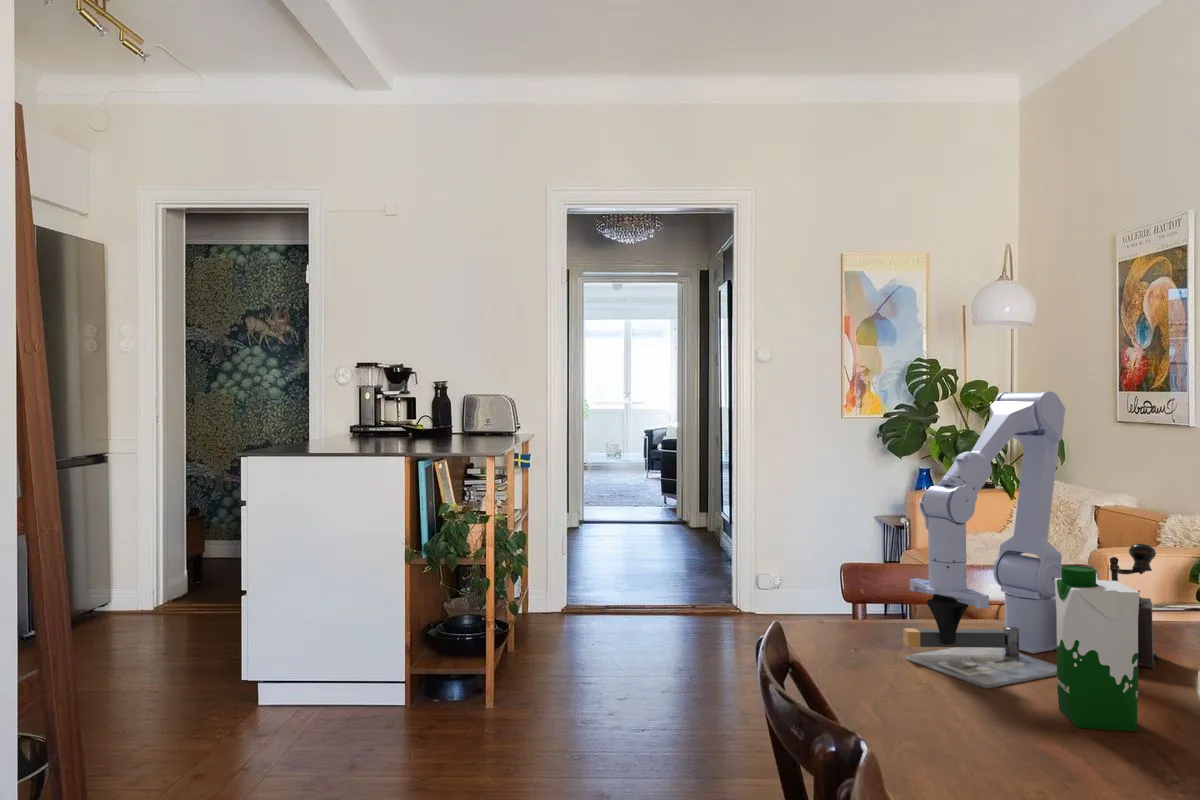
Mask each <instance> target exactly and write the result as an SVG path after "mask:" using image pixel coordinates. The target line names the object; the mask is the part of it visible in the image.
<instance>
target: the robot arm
mask: <svg viewBox="0 0 1200 800" xmlns="http://www.w3.org/2000/svg"><path fill="white" fill-rule="evenodd" d="M989 411H990V419H989V421H988V423H987V424H986V425H985V427H984V429H983V431H982V432H981V433H980V435H979V438H978V439H977V441H976V442H975V445H974V446H973V447H972V450H971V451H964V452H961V453H958V454H957V456H956V457H955V460H954V462H953V463H952V465H951V466H950V467H949V469H948V470H947V472H945V474H944V476H943V477H942V478H941V479H940V481H939V483H938V484H936V485H935V484H934V485H933V486H930V487H929V488H928V489H926V490H925V491H924V493H923V494H922V497H921V501H920V502H919V509H920V512H921V515H922V516H923V518H924V522H925V523H924V526H925V527H926V530H927V531H928V532H927V533H928V534H927V535H928V538H927V539H928V540H927V541H928V547H927V548H928V579H925V578H924V579H923V578H917V577H916V578H910V579H909V591H910V592H915V593H916V592H919V593H922V594H925V595H926V594H927V595H931V596H932V598H930V599H927V601H926V605H927V606H928V608H929V609H930V612H931V613H932V615H933V617H934V620H935V622H936V625H937V629H939V632H940V641H941V644H944V645H948V644H954V643H955V639H956V630H957V629H958V626H959V624H960V622H961V620H962V617H963V616H964V615H965V614H964V613H965V612H966V610H967V609H968V608H969V606H972V607H974V609H975V608H976V609H979V610H981V609H988V608H990V596H989V594H984V593H982V592H980V591H977V590H974V589H972V588H969V587H967V522H968V521H969V520H970V519H971V518H972V517H973V516H974V514H975V510H976V502H977V500H978V494H979V492H980V491H981V489H982V488H983V486H984V485H986V482H987V481H988V479H989V478H990V477H991V475H993V474H992V473H993V467H992V465H991V462H993V460H994V459H995V457H997V456H998V454H999V453H1000V452H1001V451H1002V450H1003V448H1004V447H1005V446H1006V445H1007V444H1008V443H1009V441H1010V440H1011V439H1012V438H1013V439H1014V440H1016V441H1018V442H1019V443H1020V444H1021V446H1022V447H1023V455H1022V462H1021V473H1020V478H1019V479H1020V480H1019V489H1018V496H1017V497H1018V498H1017V506H1016V513H1015V520H1014V521H1015V522H1014V530H1013V535H1012V536H1011V537H1010V538H1008V539H1007V540H1005V541H1003V542H1002V543H1001V544H999V545H1000V546H999V551H998V554H997V557H996V559H995V562H994V564H993V569H992V571H993V578H994V581H995V582H996V583H997V585H998V586H1000V591H1001V592H1002V593H1004V627H1005V626H1011V627H1016V628H1019V651H1023V652H1026V653H1030V654H1038V653H1043V652H1049V651H1050V652H1051V651H1054V650H1056V651H1057V610H1056V593H1055V578H1061V577H1062V567H1063V566H1062V558H1063V555H1062V553H1060V551H1059V550H1058V549H1056V547H1055V546H1053V544H1052V543H1050V542H1049V541H1048V540H1049V531H1050V525H1051V523H1050V522H1051V513H1052V505H1053V497H1054V487H1055V479H1056V471H1057V461H1058V454H1059V447H1060V446H1059V445H1060V441H1062V440H1063V439H1062V438H1063V431H1064V422H1065V416H1066V415H1065V414H1066V412H1065V411H1066V407H1065V406H1064V404H1063V402H1062V400H1061V398H1060V397H1059V395H1058V394H1057V393H1055V392H1054V391H1050V390H1047V391H1044V392H1043V391H1042V392H1035V391H1034V392H1010V391H1003V392H1002V391H1001V393H998V394H997V396H996V398H995V399H994V402H993V403H991V404H990V406H989ZM1022 554H1031V555H1035V556H1037V557H1034V556H1028V555H1022Z"/></svg>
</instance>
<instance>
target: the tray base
mask: <svg viewBox="0 0 1200 800" xmlns="http://www.w3.org/2000/svg"><path fill="white" fill-rule="evenodd" d="M1002 632H1004V633H1005V648H983V647H948V648H944V649H943V648H942V649H938V650H937V649H936V650H932V651H931V650H930V651H924V652H918V653H912V654H907V655H905V660H907V661H910V662H913V663H915V664H918V665H921V666H924V667H925V668H926V667H927V668H929V669H931V670H934V671H936V672H939V673H943V674H945V675H948V676H951V677H954V678H956V679H959V680H962V681H965V682H966V683H970V684H972V685H975V686H978V687H980V688H984V689H991V688H992V689H993V688H997V687H1003V686H1007V685H1012V684H1017V683H1023V682H1029V681H1032V680H1039V679H1045V678H1050V677H1055V676H1057V664H1055V663H1051V662H1049V661H1046V660H1042V659H1038V658H1035V657H1033V656H1029V655H1025V654H1022V653H1020V650H1019V628H1016V627H1011V626H1005V625H1004V626H1003V627H1002Z"/></svg>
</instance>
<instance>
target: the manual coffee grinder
mask: <svg viewBox="0 0 1200 800" xmlns="http://www.w3.org/2000/svg"><path fill="white" fill-rule="evenodd" d="M1128 554H1129V556H1130V557H1131V558H1132V559H1133V561H1134V563H1133V566H1132V567H1131V569H1130V568H1129V569H1123V568H1120V566H1119V559H1118V557H1116V556H1112V557H1110V558H1109V560H1108V561H1109V563H1110V564H1109V571H1110V572H1111V581H1118V582H1119V575H1132V574H1140V575H1143V573H1146V572H1152V568H1151V562H1152V560H1153V559H1155V557H1156V554H1157V551H1156V550H1155V548H1154V547H1152V546H1151V545H1149V544H1145V543H1135V544H1133V545H1131V546H1130V548H1129V549H1128ZM1137 592H1139V593H1141V590H1140V589H1139V590H1138V591H1137ZM1151 599H1152V598H1150V597H1149V598H1148V597H1141V596H1140V595H1139V611H1138V669H1148V670H1153V669H1154V668H1155V664H1156V662H1157V661H1158V660H1159V654H1158V653H1157V652H1154V630H1153V629H1154V627H1153V602H1152V600H1151Z"/></svg>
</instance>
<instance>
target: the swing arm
mask: <svg viewBox="0 0 1200 800" xmlns="http://www.w3.org/2000/svg"><path fill="white" fill-rule="evenodd" d="M902 631H903V633H902V634H903V635H902V637H903V640H902V641H903V642H902V643H903V644H904V646H906V647H907V648H955V647H983V648H1005V633H1004V632H1003V630H1000V629H996V628H993V629H987V628H986V629H985V628H983V629H982V628H979V629H977V628H974V629H973V628H969V629H968V628H967V629H966V628H963V629H962V628H957V630H956V639H955V643H954V644H948V645H944V644H941V641H940V632H939V629H938V628H916V627H915V628H910V627H907V628H906V627H905V628H903V630H902Z"/></svg>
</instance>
